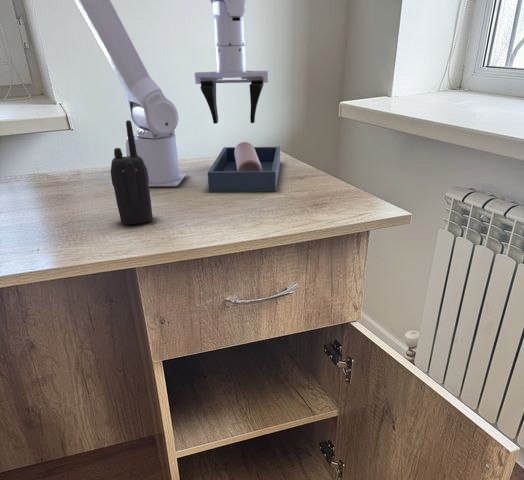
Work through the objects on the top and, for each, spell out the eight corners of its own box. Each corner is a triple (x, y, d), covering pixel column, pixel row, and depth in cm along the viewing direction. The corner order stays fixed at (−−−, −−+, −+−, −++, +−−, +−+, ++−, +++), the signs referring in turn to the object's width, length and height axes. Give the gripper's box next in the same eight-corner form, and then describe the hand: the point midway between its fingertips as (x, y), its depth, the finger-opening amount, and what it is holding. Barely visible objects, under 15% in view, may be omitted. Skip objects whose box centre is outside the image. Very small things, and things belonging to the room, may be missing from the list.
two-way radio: (153, 217, 82) (138, 118, 74) (157, 225, 79) (142, 122, 70) (118, 221, 81) (100, 120, 73) (121, 229, 77) (102, 125, 69)
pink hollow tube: (263, 160, 93) (256, 142, 108) (238, 159, 92) (234, 140, 107) (261, 186, 95) (254, 164, 110) (237, 184, 95) (233, 163, 110)
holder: (209, 192, 94) (207, 172, 92) (224, 164, 113) (223, 147, 111) (275, 191, 93) (275, 171, 91) (280, 163, 112) (280, 146, 110)
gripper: (269, 44, 98) (270, 119, 106) (196, 45, 99) (202, 119, 107) (267, 45, 92) (268, 124, 100) (190, 47, 93) (197, 125, 101)
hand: (234, 122), depth 103 cm, fingers open, 7 cm apart
